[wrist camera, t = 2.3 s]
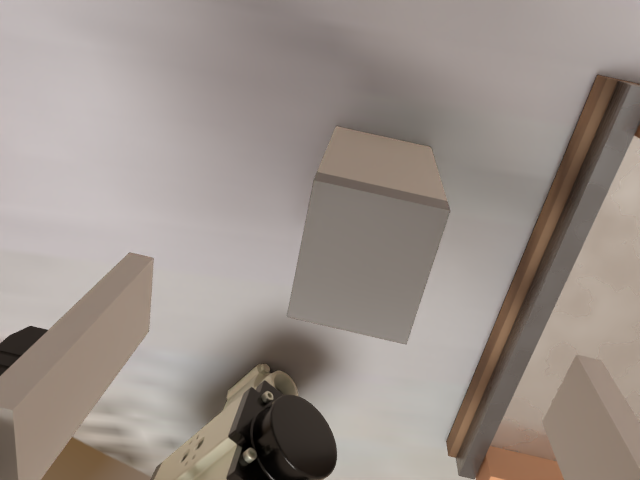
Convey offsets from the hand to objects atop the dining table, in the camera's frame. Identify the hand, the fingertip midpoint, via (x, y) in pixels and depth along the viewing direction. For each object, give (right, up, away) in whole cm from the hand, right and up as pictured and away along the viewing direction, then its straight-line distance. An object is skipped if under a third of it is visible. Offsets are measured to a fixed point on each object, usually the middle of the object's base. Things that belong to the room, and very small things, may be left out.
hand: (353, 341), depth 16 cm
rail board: (+16, -1, +13) cm, 20 cm away
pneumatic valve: (-5, -6, +19) cm, 20 cm away
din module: (+2, +6, +12) cm, 13 cm away
